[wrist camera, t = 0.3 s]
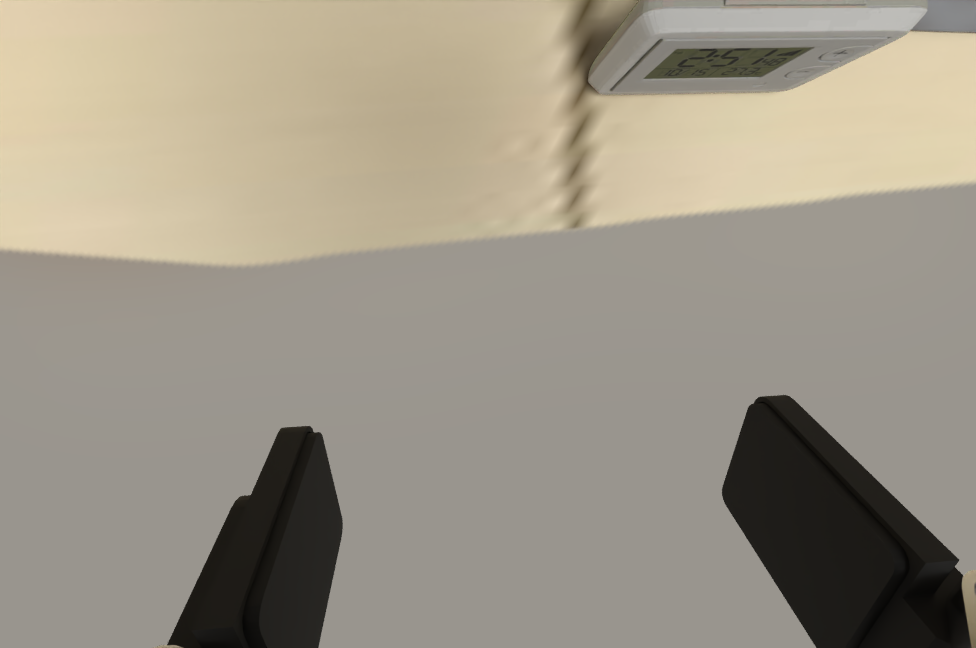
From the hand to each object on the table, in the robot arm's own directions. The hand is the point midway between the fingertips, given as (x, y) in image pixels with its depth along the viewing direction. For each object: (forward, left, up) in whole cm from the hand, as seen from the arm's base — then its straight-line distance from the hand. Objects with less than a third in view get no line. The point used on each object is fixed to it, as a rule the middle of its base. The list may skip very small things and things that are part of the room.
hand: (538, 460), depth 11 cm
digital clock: (-9, +16, -31) cm, 36 cm away
